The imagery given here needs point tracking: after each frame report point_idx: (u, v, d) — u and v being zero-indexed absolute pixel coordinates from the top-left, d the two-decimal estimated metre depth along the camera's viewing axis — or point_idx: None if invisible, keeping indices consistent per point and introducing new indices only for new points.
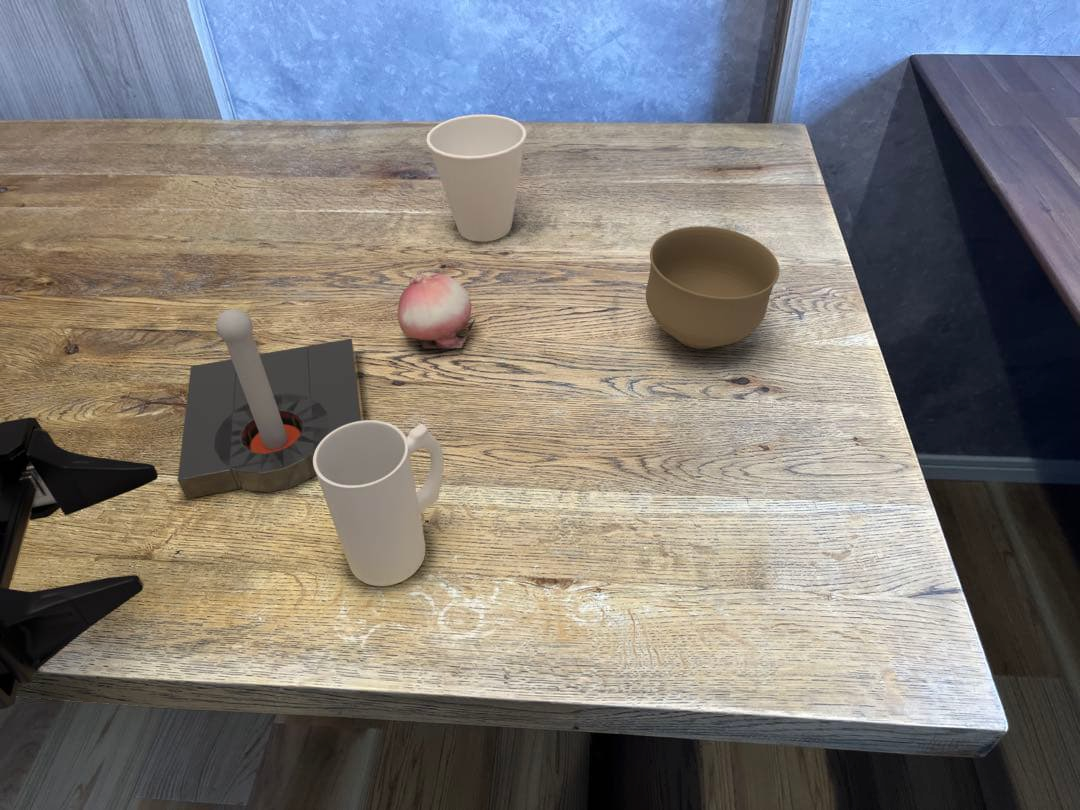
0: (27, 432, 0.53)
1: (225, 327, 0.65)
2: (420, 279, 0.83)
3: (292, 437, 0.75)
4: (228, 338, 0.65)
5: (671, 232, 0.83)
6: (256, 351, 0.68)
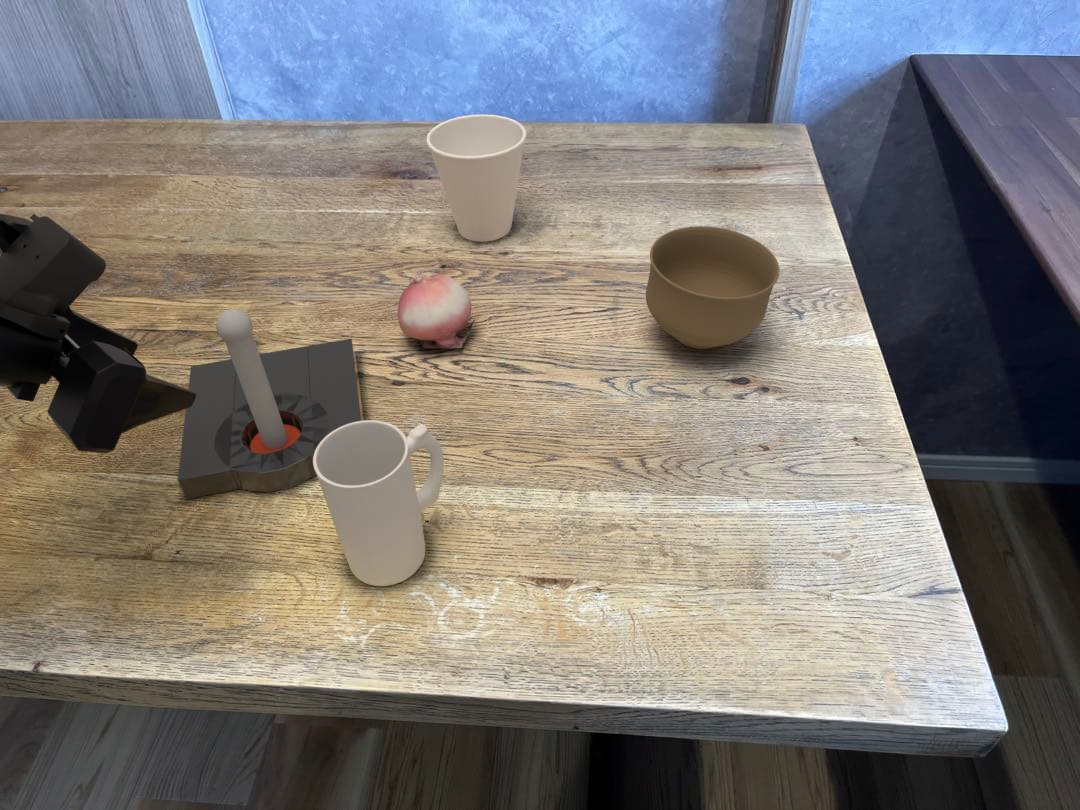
0: None
1: (225, 327, 0.65)
2: (420, 279, 0.83)
3: (292, 437, 0.75)
4: (228, 338, 0.65)
5: (671, 232, 0.83)
6: (256, 351, 0.68)
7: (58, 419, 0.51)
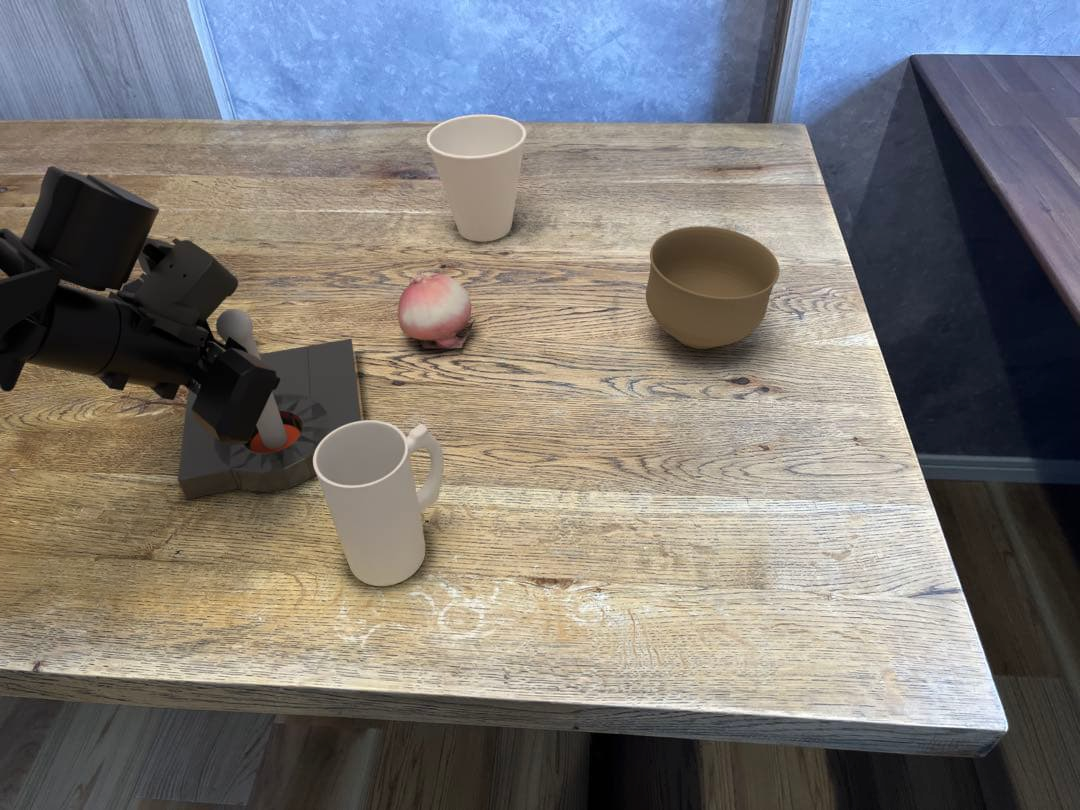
0: None
1: (225, 327, 0.65)
2: (420, 279, 0.83)
3: (292, 437, 0.75)
4: None
5: (671, 232, 0.83)
6: (256, 351, 0.68)
7: (203, 415, 0.59)
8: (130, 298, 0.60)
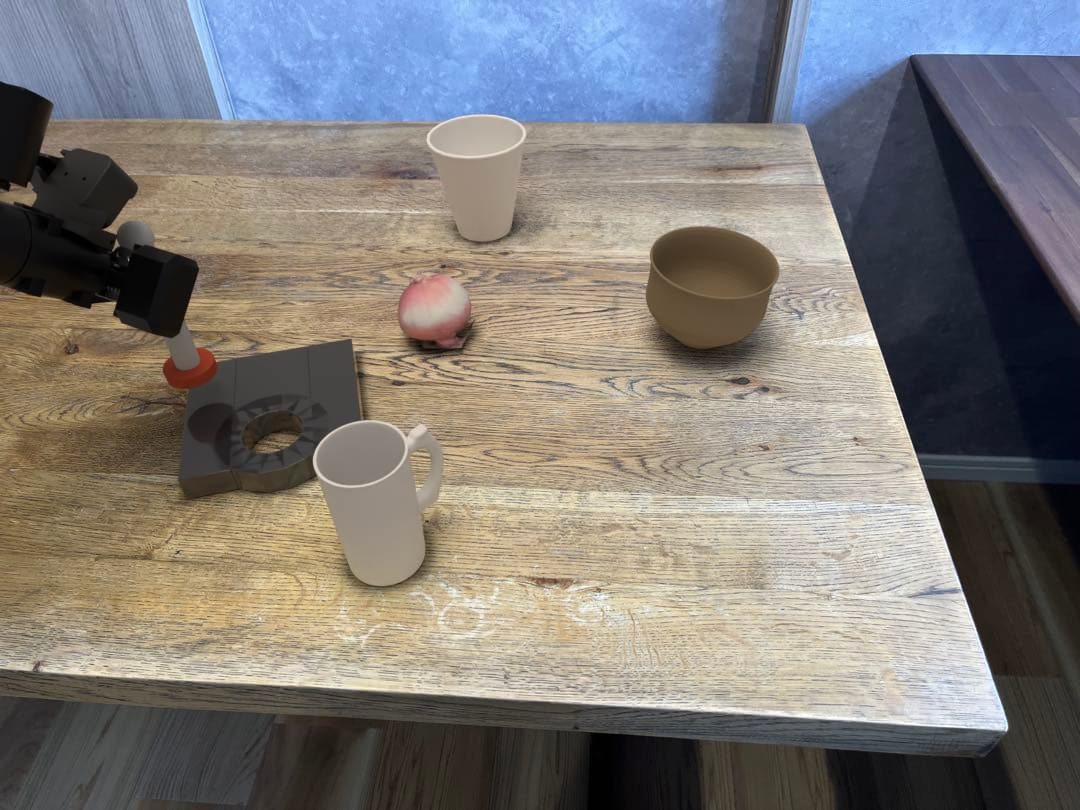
0: None
1: (128, 237, 0.65)
2: (420, 279, 0.83)
3: (204, 357, 0.76)
4: (132, 248, 0.66)
5: (671, 232, 0.83)
6: None
7: (130, 311, 0.60)
8: (30, 207, 0.59)
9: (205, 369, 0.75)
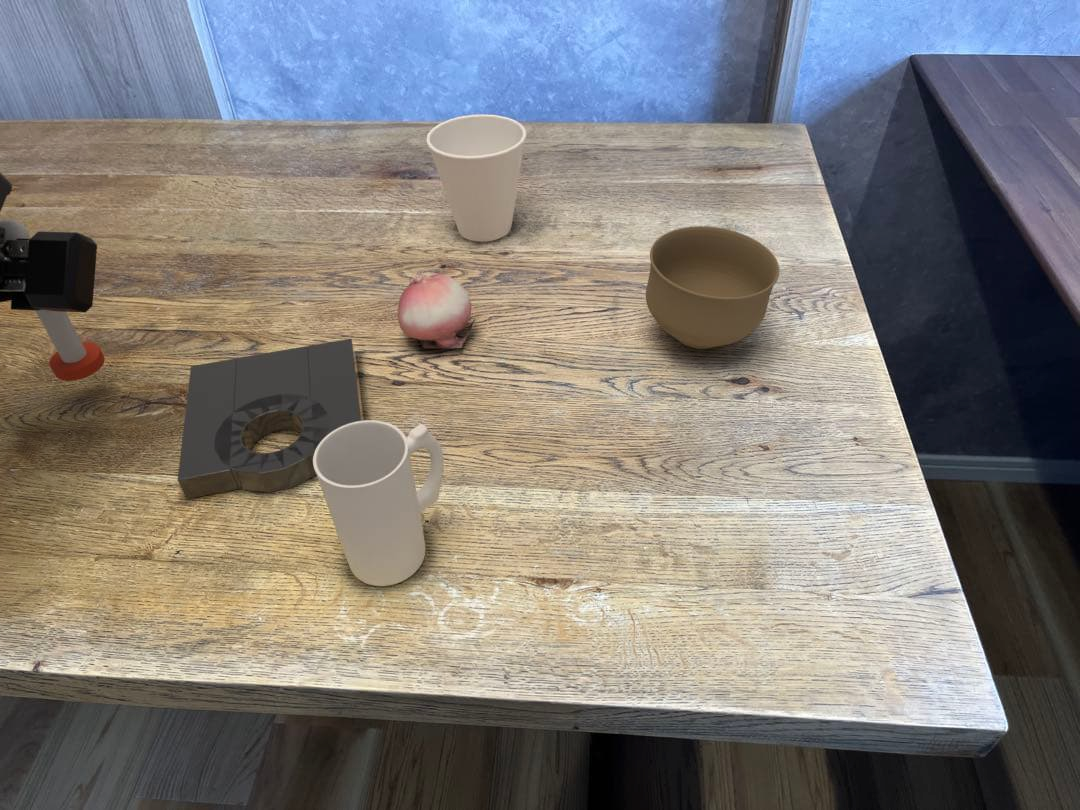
0: None
1: (6, 234, 0.69)
2: (420, 279, 0.83)
3: (88, 348, 0.80)
4: None
5: (671, 232, 0.83)
6: None
7: (42, 291, 0.64)
8: None
9: (95, 357, 0.79)
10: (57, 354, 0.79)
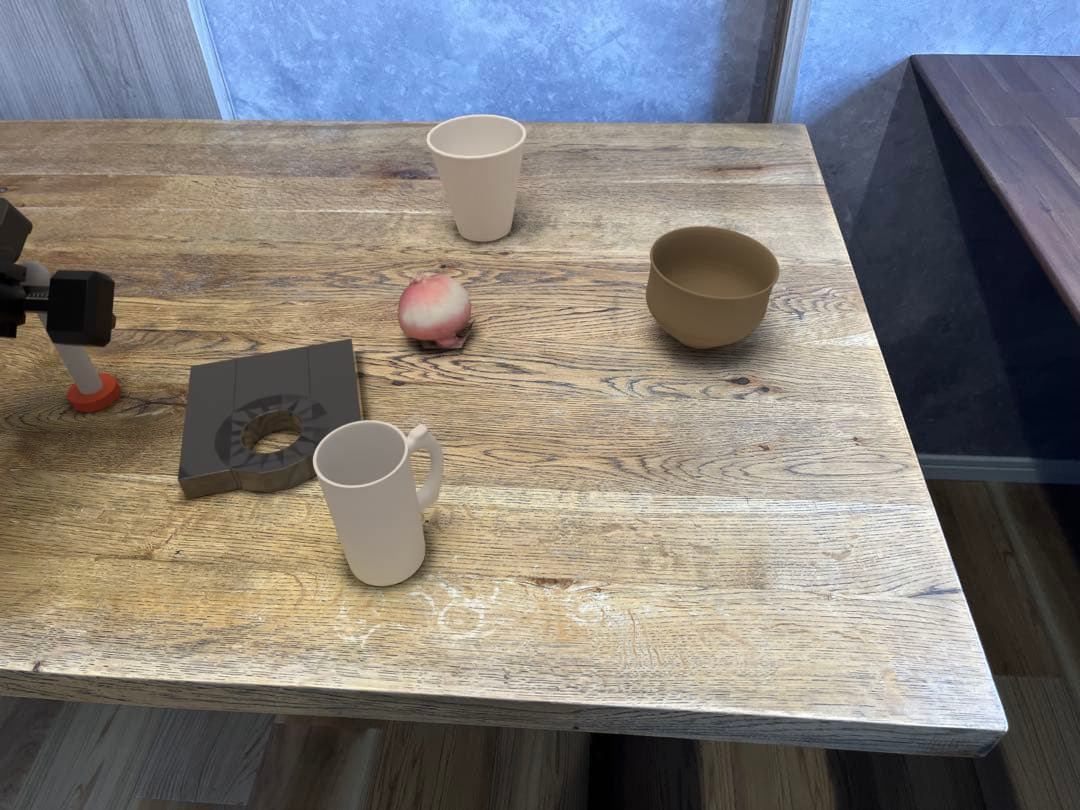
0: None
1: (28, 276, 0.71)
2: (420, 279, 0.83)
3: (105, 379, 0.82)
4: (33, 285, 0.72)
5: (671, 232, 0.83)
6: None
7: (63, 328, 0.67)
8: None
9: (111, 388, 0.81)
10: (75, 386, 0.82)
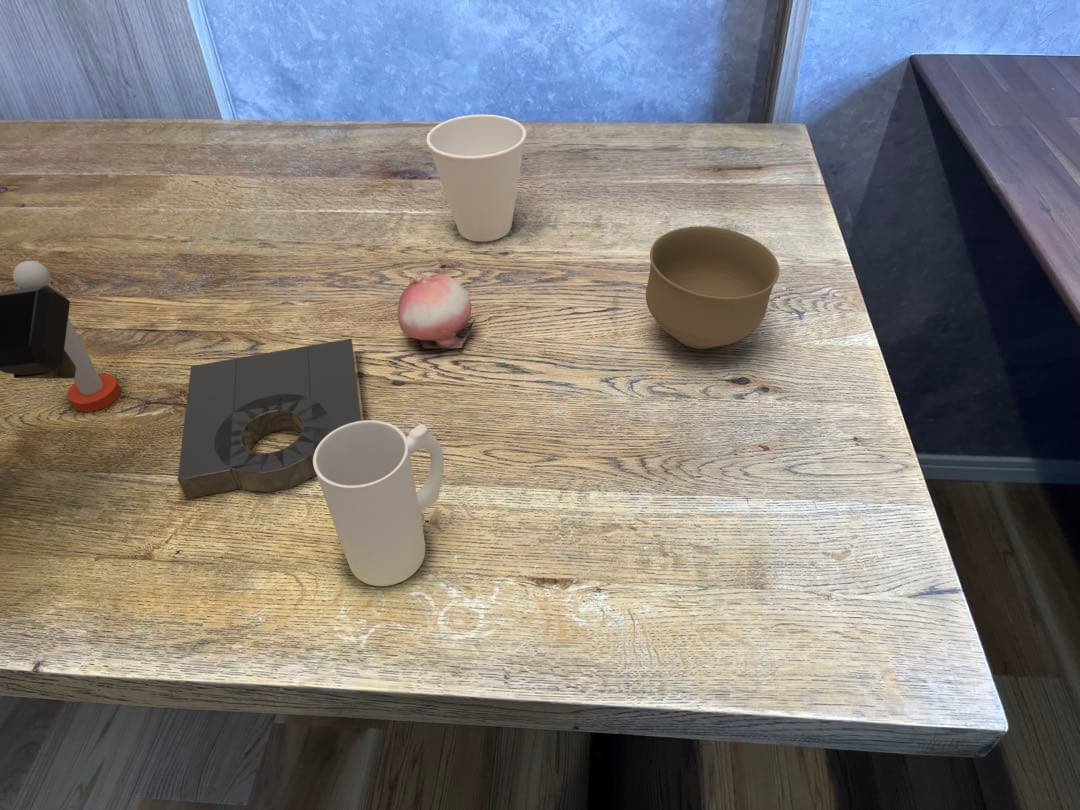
0: None
1: (28, 276, 0.71)
2: (420, 279, 0.83)
3: (105, 379, 0.82)
4: (33, 285, 0.72)
5: (671, 232, 0.83)
6: None
7: (6, 346, 0.58)
8: None
9: (111, 388, 0.81)
10: (75, 386, 0.82)
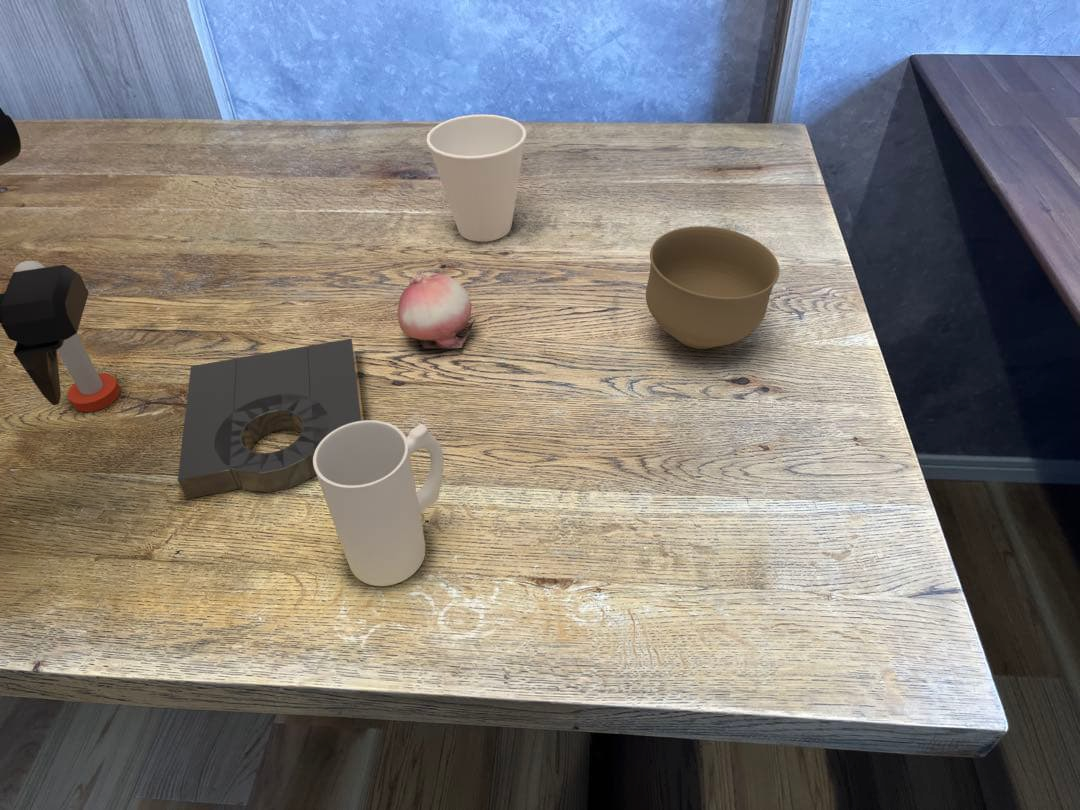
0: None
1: None
2: (420, 279, 0.83)
3: (105, 379, 0.82)
4: None
5: (671, 232, 0.83)
6: None
7: (23, 301, 0.54)
8: None
9: (111, 388, 0.81)
10: (75, 386, 0.82)
